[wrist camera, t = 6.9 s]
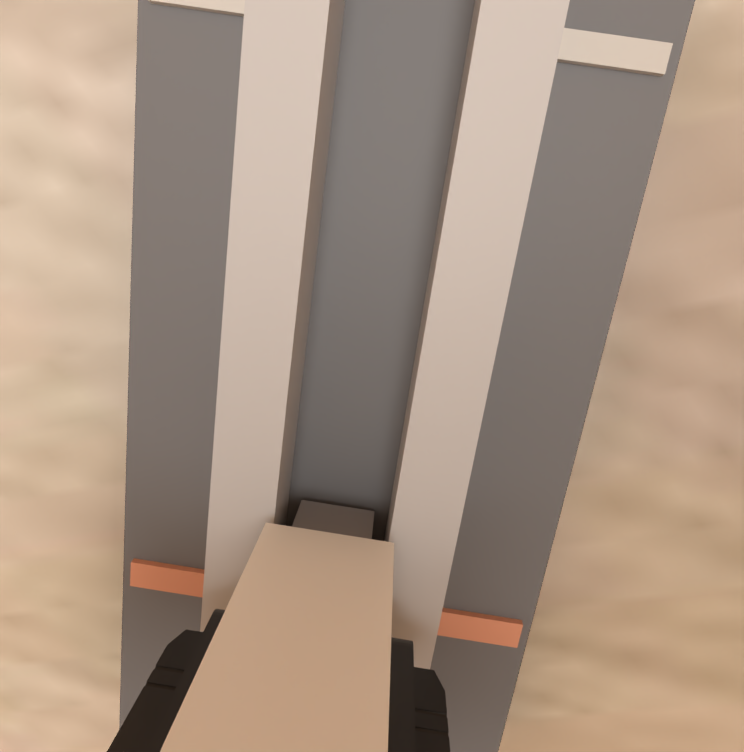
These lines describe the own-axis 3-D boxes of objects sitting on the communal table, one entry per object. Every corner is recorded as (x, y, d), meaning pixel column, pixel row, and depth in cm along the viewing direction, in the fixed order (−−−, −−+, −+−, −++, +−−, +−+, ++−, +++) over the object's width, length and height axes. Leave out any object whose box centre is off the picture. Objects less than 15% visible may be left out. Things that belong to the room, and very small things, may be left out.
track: (707, -181, 13) (839, -358, 9) (477, 744, 20) (494, 870, 16) (185, -252, 13) (90, -456, 9) (146, 690, 20) (85, 801, 16)
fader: (395, 497, 15) (386, 804, 7) (369, 650, 16) (337, 1052, 8) (285, 480, 15) (153, 766, 7) (268, 634, 16) (141, 1018, 8)
